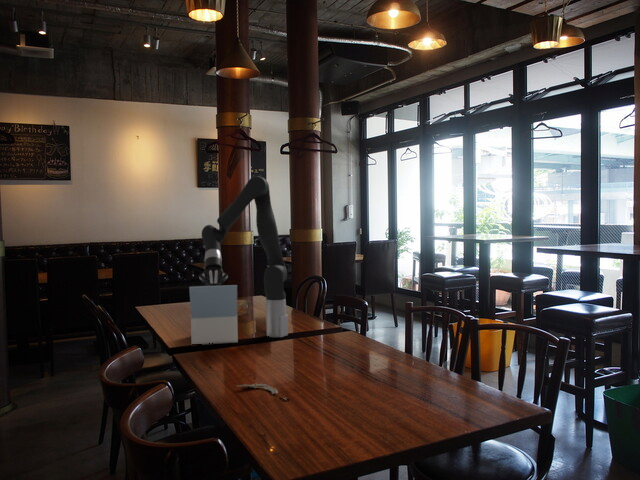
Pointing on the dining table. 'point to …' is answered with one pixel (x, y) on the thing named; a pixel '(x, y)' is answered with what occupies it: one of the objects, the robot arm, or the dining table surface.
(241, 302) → the tin
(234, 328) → the carton
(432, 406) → the dining table surface
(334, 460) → the dining table surface
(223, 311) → the lid flap
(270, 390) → the jawbone
